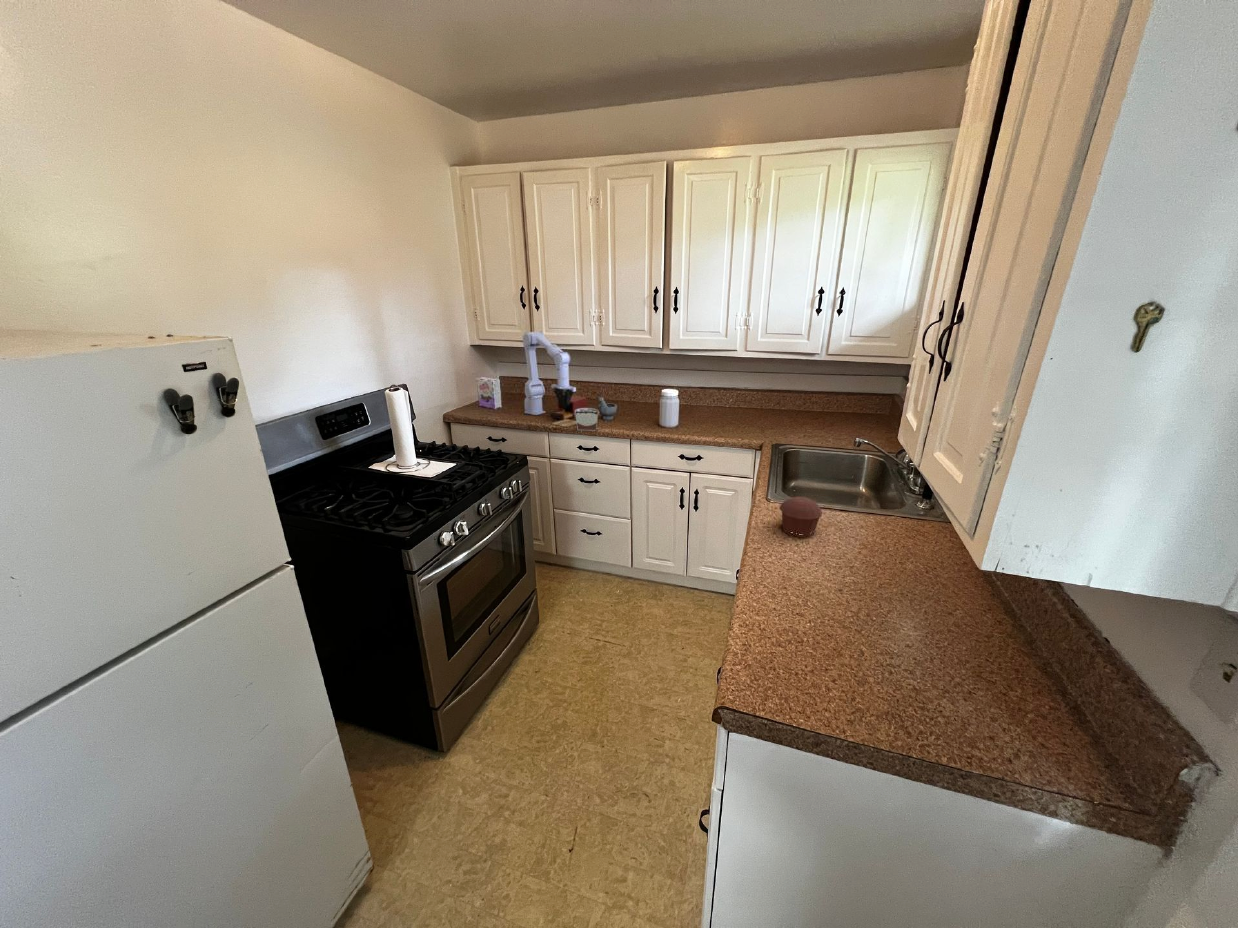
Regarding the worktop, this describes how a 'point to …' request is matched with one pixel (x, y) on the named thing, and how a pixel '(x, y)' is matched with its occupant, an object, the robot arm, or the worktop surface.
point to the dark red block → (575, 405)
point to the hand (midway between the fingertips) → (564, 403)
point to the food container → (586, 418)
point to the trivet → (565, 423)
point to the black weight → (562, 400)
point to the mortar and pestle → (607, 409)
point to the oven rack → (561, 414)
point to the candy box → (489, 392)
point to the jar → (669, 408)
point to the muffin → (800, 516)
